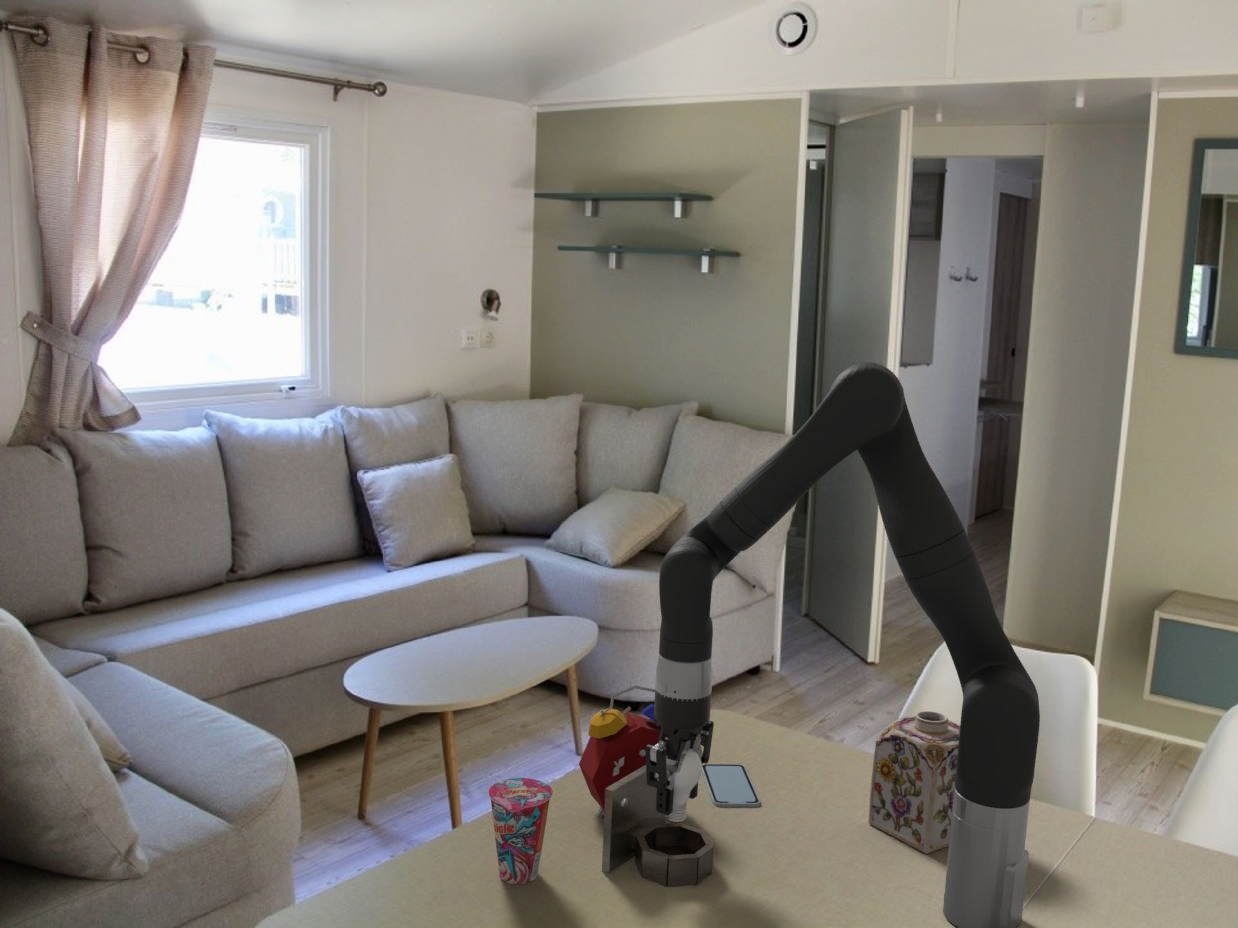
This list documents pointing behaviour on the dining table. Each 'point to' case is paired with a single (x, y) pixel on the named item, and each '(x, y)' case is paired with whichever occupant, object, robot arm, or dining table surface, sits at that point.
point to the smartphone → (730, 785)
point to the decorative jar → (915, 780)
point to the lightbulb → (684, 784)
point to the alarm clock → (617, 746)
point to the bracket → (651, 836)
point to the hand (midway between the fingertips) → (676, 803)
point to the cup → (519, 826)
